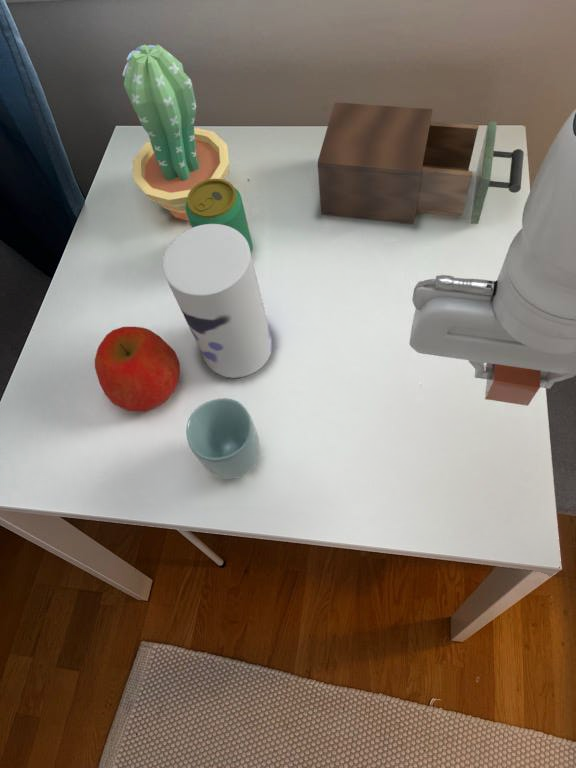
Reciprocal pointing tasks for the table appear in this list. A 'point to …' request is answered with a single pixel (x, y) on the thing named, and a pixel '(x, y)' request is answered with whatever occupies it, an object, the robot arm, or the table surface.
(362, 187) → the cabinet
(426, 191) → the drawer
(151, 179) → the potted cactus
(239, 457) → the cup
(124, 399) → the apple
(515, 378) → the block
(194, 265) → the container
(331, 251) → the table surface
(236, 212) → the beverage can
